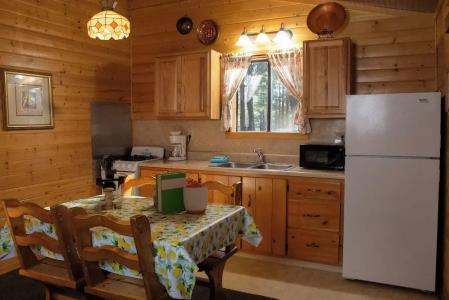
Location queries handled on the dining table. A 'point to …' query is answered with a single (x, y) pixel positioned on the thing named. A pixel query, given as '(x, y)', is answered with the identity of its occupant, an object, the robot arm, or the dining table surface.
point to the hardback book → (170, 192)
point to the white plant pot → (195, 197)
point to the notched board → (115, 204)
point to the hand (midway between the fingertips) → (111, 190)
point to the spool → (108, 198)
